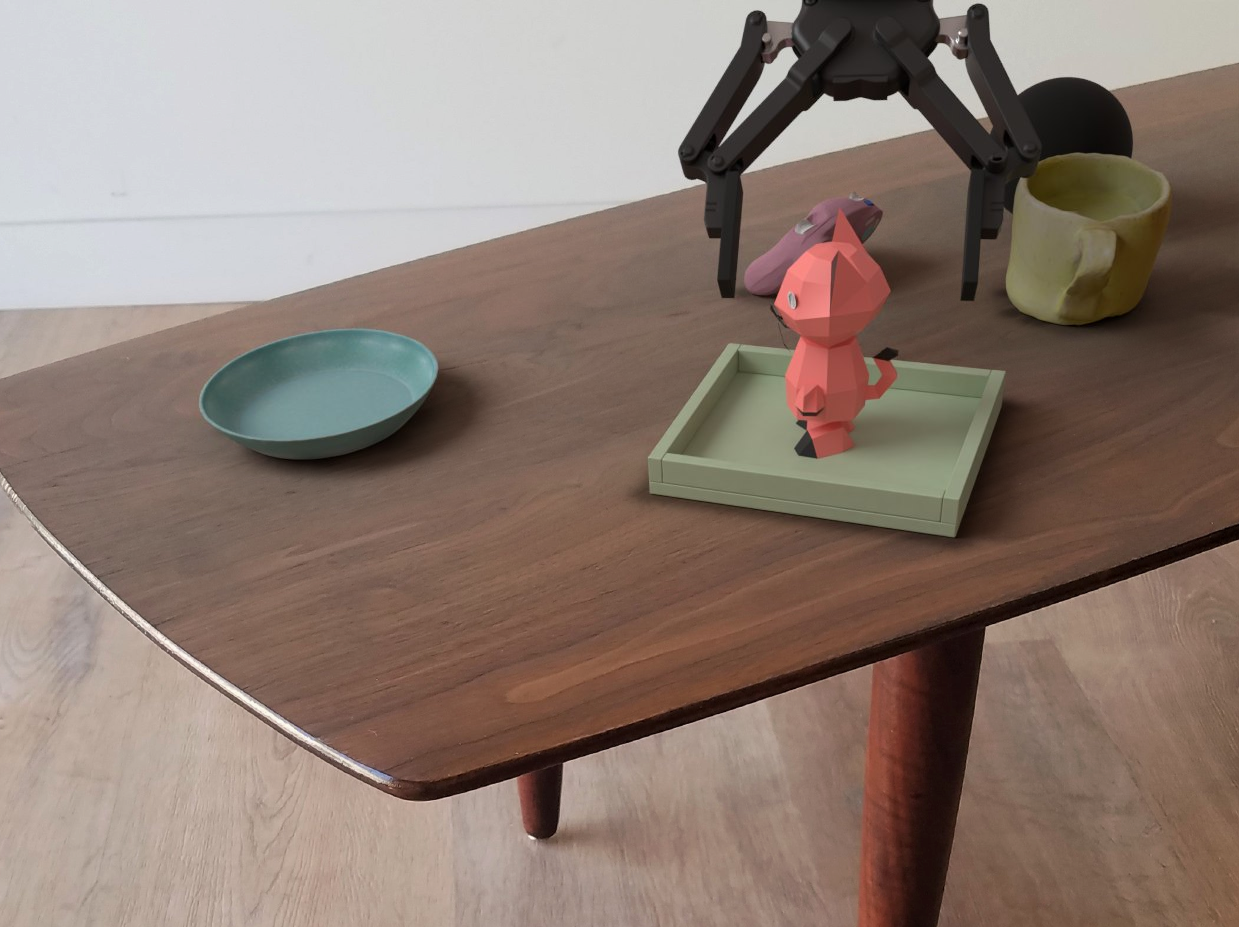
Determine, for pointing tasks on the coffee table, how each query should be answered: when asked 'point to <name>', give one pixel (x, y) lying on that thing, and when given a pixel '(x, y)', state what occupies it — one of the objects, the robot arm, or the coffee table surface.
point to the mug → (1085, 237)
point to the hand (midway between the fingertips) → (845, 291)
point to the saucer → (320, 392)
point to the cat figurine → (832, 339)
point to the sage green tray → (841, 483)
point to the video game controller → (810, 240)
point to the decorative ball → (1073, 122)
